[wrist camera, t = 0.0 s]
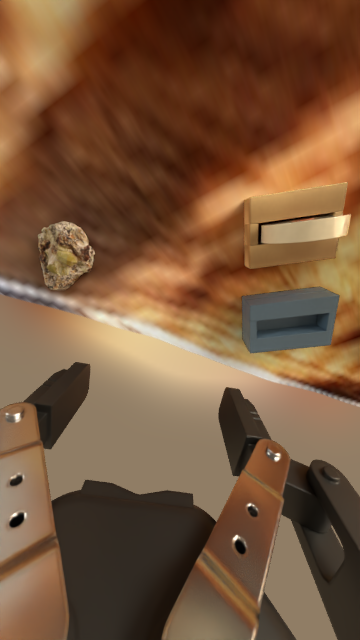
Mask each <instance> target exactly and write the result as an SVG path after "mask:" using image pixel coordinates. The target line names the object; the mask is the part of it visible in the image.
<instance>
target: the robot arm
mask: <svg viewBox="0 0 360 640" xmlns="http://www.w3.org/2000/svg"><path fill="white" fill-rule="evenodd" d="M89 378H90V364H85V363H79V362H75V363H74V364H73V365H72V366H71V367H70V368H69V369H68V370H65V369H63V370H61V371H59V372H56V373H54V374H53V375H52V376H51V377H50V378H49V379H48V381H46V382H44V383H43V385H41V386H40V387H39V388H38V389H37V390H36V391H34V392H33V394H31V395H30V396H29V397H28V398H27V399H26V400H25V401H24V402H19V403H14V404H10V405H8V406H6V407H4V408H2V409H0V640H296V638H295V637H294V635H293V634H292V632H291V631H290V629H289V628H288V626H287V625H286V623H285V622H284V621H283V619H282V618H281V616H280V615H279V613H278V612H277V610H276V609H275V607H274V606H273V604H272V603H271V601H270V600H269V598H268V597H267V595H266V594H265V592H264V589H265V584H266V580H267V576H268V571H269V567H270V562H271V558H272V553H273V549H274V544H275V540H276V536H277V531H278V527H279V522H280V517H281V515H283V516H286V517H287V518H289V519H291V521H292V524H293V526H294V528H295V531H296V534H297V537H298V539H299V542H300V544H301V547H302V549H303V552H304V555H305V557H306V560H307V562H308V565H309V567H310V570H311V573H312V575H313V578H314V580H315V583H316V585H317V588H318V591H319V593H320V595H321V598H322V601H323V603H324V606H325V608H326V611H327V614H328V616H329V618H330V621H331V624H332V627H333V629H334V632H335V634H336V637H337V639H338V640H360V497H359V495H358V494H357V492H356V491H355V490H354V488H353V487H352V486H351V484H350V483H349V481H348V480H347V479H346V477H345V476H344V475H343V474H342V473H341V472H340V471H339V470H338V469H336V468H335V467H334V466H332V465H331V464H329V463H327V462H325V461H322V460H313V461H312V462H311V464H310V467H308V466H306V465H303V464H301V463H299V462H296V461H294V460H292V459H290V457H289V455H288V453H287V451H286V450H285V449H284V448H283V447H282V446H281V445H280V444H278V443H277V442H275V441H273V440H271V438H270V436H269V434H268V432H267V430H266V428H265V426H264V425H263V422H262V421H261V419H260V417H259V415H258V414H257V411H256V409H255V407H254V405H253V404H251V402H250V401H249V400H248V399H244V398H243V396H242V394H241V391H240V390H239V389H235V388H228V387H226V389H225V391H224V394H223V398H222V401H221V404H220V408H219V423H220V427H221V430H222V434H223V438H224V442H225V446H226V450H227V454H228V458H229V462H230V466H231V470H232V474H233V476H239V478H238V480H237V482H236V484H235V486H234V488H233V490H232V492H231V494H230V496H229V498H228V500H227V502H226V504H225V506H224V508H223V511H222V512H221V514H220V517H219V519H218V520H217V522H216V521H215V520H214V519H213V518H212V517H211V516H210V515H209V514H207V513H206V512H205V511H204V510H202V509H201V508H199V507H197V506H195V505H193V494H190V493H182V492H175V491H160V492H154V493H148V494H141V495H139V494H135V493H133V492H131V491H128V490H126V489H124V488H122V487H120V486H117V485H115V484H113V483H107V482H99V481H92V480H85V482H84V485H83V487H82V489H81V490H78V491H74V492H70V493H67V494H65V495H62V496H60V497H58V498H56V499H54V500H53V501H51V496H50V489H49V483H48V475H47V469H46V462H45V455H44V448H45V449H51V448H52V447H53V445H54V444H55V443H56V441H57V439H58V438H59V437H60V435H61V434H62V432H63V431H64V429H65V428H66V426H67V425H68V423H69V422H70V420H71V419H72V417H73V416H74V414H75V413H76V412H77V410H78V408H79V407H80V406H81V404H82V403H83V401H84V400H85V398H86V396H87V393H88V389H89ZM331 525H332V526H333V527H334V529H335V531H336V533H337V535H338V537H339V539H340V541H341V543H342V545H343V548H342V547H341V545H340V543H339V541H338V539H337V538H336V535H335V533H334V532H333V530H332V528H331ZM343 549H344V550H343Z"/></svg>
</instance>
